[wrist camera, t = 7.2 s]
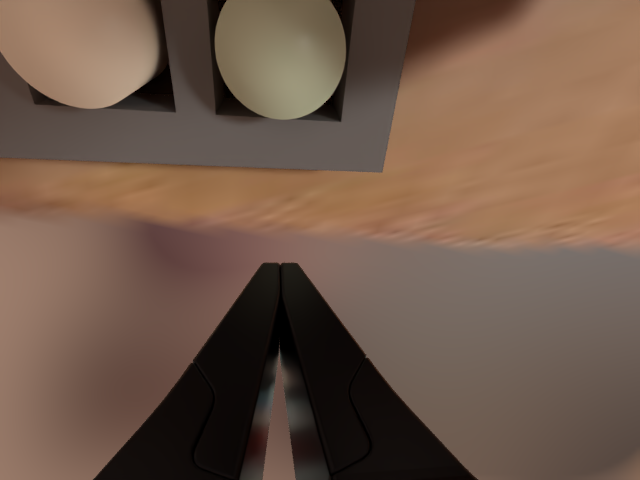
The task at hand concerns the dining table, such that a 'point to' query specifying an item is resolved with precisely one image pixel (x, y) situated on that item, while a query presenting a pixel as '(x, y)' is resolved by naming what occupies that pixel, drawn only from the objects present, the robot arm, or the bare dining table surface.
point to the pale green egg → (280, 54)
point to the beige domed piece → (84, 47)
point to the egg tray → (223, 105)
